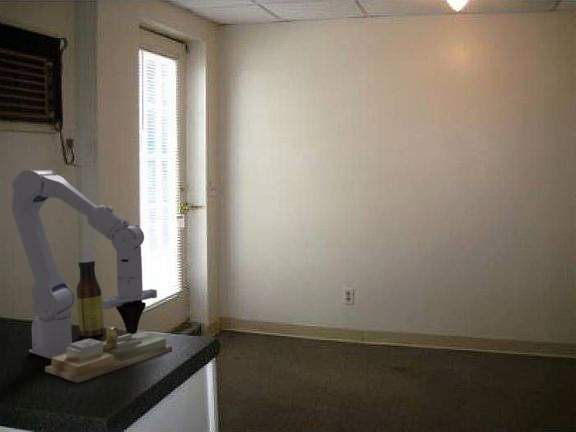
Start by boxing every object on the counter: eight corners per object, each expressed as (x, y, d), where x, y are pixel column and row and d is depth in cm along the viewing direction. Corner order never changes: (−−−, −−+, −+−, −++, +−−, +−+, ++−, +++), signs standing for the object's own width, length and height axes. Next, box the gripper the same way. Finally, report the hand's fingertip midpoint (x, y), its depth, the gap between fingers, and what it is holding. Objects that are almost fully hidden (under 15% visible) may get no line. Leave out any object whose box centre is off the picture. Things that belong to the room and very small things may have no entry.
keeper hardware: (66, 357, 128) (65, 344, 127) (129, 338, 141) (128, 327, 141) (79, 361, 125) (78, 348, 125) (142, 341, 138) (141, 330, 138)
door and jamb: (45, 371, 128) (44, 358, 127) (139, 341, 148) (139, 330, 148) (77, 383, 121) (76, 368, 120) (172, 350, 141) (171, 338, 141)
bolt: (82, 353, 129) (81, 334, 129) (113, 343, 136) (112, 326, 136) (88, 355, 128) (88, 336, 128) (119, 345, 135) (119, 327, 134)
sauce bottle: (109, 332, 157) (106, 259, 156) (94, 338, 151) (91, 263, 150) (88, 330, 160) (85, 258, 158) (73, 336, 154) (70, 262, 152)
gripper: (114, 283, 129) (117, 343, 131) (164, 273, 141) (166, 328, 142) (95, 280, 134) (97, 338, 135) (145, 270, 145) (147, 324, 146)
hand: (131, 332), depth 139 cm, fingers closed
